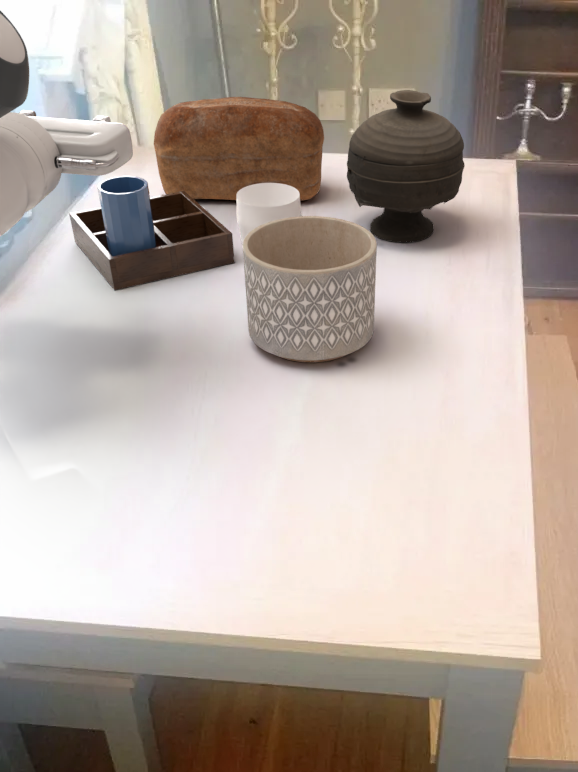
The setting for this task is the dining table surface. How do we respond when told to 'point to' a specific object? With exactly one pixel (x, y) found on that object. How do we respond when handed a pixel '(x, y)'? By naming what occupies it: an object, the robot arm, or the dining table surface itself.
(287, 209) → the cup
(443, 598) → the dining table surface
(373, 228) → the pot
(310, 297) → the planter
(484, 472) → the dining table surface
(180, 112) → the bread
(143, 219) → the tumbler
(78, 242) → the cup rack
